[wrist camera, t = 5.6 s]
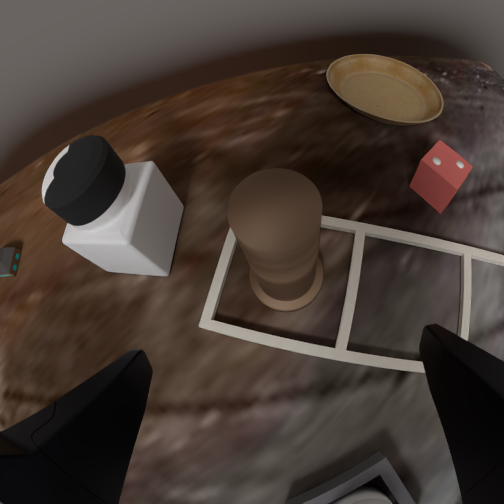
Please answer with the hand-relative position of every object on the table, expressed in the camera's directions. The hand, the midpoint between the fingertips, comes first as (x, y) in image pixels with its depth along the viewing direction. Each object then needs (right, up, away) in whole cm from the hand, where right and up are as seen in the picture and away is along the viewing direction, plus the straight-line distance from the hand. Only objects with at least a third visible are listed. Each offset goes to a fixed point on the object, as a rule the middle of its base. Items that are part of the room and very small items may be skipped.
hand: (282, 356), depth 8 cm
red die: (+17, +9, +15) cm, 24 cm away
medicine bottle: (-11, +4, +18) cm, 22 cm away
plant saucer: (+15, +22, +21) cm, 34 cm away
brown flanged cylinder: (+2, +1, +14) cm, 15 cm away
